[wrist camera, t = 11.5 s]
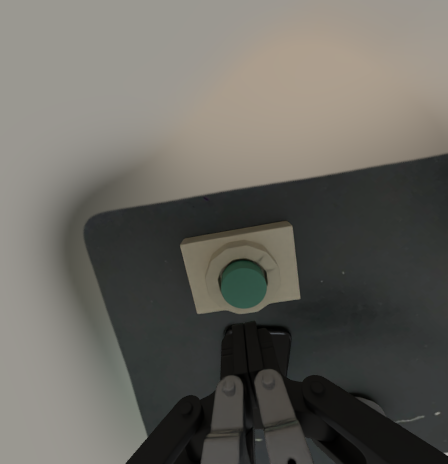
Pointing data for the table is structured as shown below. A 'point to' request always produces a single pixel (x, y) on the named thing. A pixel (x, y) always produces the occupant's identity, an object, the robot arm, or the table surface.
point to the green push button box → (235, 249)
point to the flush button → (243, 284)
